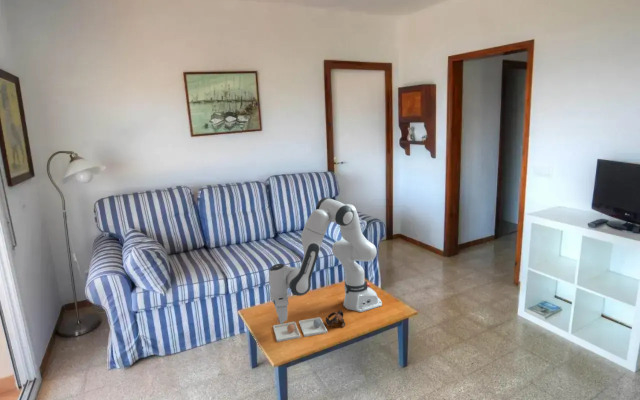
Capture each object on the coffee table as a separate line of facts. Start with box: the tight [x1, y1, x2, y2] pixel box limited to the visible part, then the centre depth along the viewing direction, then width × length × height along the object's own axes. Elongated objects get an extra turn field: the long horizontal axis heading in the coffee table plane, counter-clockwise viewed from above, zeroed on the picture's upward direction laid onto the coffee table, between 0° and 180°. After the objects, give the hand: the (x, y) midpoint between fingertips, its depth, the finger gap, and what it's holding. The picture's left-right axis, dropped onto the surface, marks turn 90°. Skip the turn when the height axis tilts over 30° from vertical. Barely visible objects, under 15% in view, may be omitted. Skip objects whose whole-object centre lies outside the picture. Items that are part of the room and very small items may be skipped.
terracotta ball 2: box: [287, 324, 295, 332], centre depth 200 cm, size 4×4×4 cm
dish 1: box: [272, 321, 302, 343], centre depth 200 cm, size 12×14×2 cm
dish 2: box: [298, 316, 328, 338], centre depth 203 cm, size 12×14×2 cm
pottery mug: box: [325, 310, 346, 328], centre depth 206 cm, size 12×10×8 cm
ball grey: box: [313, 319, 321, 327], centre depth 203 cm, size 4×4×4 cm
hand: (280, 320), depth 197 cm, fingers closed on terracotta ball 1, 4 cm apart
